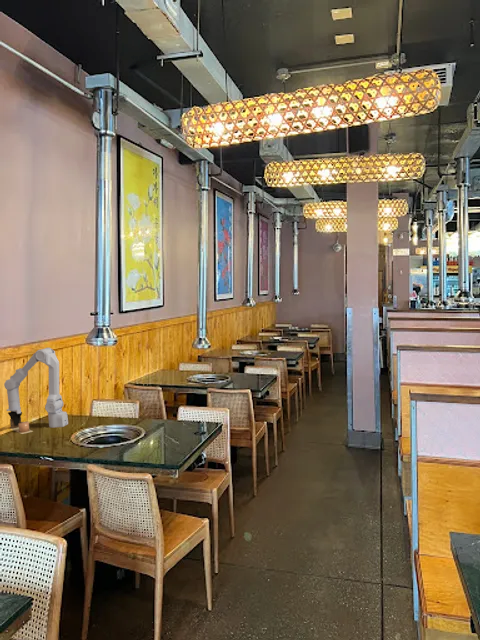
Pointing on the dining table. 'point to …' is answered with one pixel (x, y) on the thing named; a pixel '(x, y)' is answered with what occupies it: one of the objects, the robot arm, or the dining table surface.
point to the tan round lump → (23, 426)
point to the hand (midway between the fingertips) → (16, 424)
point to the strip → (17, 427)
